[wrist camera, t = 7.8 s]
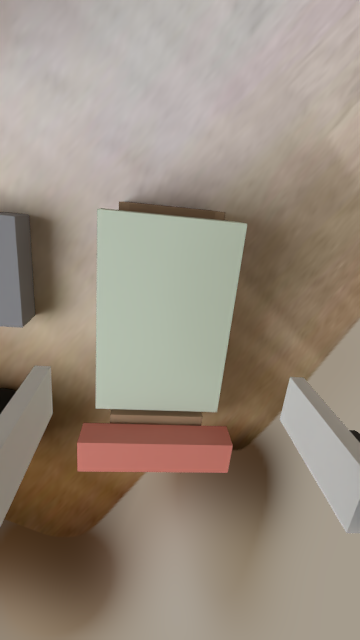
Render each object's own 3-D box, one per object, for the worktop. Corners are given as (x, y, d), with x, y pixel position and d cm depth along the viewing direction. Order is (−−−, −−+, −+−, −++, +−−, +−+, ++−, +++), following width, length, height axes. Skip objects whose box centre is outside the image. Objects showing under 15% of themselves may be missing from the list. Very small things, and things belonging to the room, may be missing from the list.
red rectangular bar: (83, 422, 28) (77, 442, 26) (226, 426, 30) (232, 445, 28) (83, 449, 29) (77, 471, 27) (221, 452, 31) (227, 472, 29)
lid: (101, 208, 25) (97, 208, 23) (239, 222, 26) (247, 223, 24) (99, 394, 30) (95, 408, 28) (212, 398, 32) (216, 412, 30)
